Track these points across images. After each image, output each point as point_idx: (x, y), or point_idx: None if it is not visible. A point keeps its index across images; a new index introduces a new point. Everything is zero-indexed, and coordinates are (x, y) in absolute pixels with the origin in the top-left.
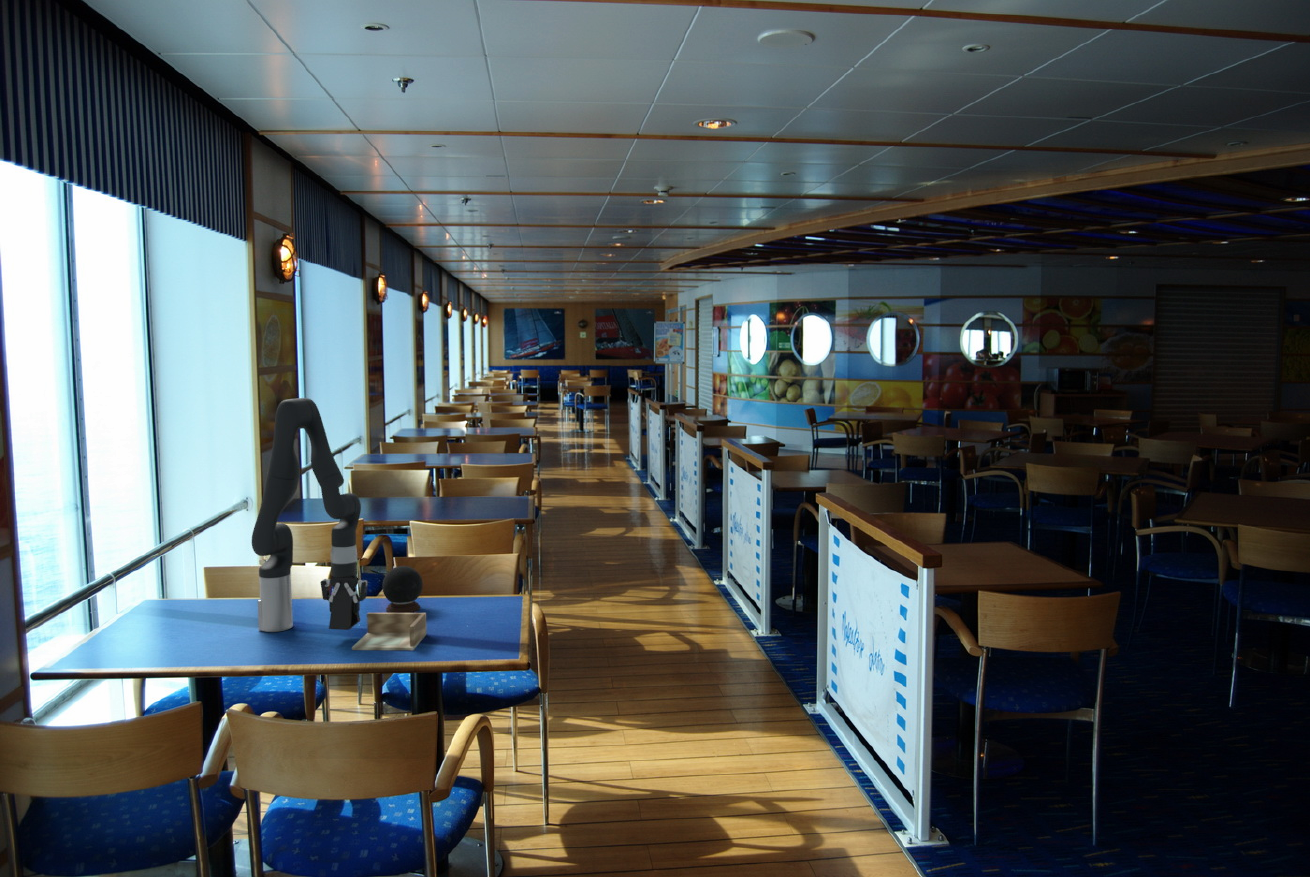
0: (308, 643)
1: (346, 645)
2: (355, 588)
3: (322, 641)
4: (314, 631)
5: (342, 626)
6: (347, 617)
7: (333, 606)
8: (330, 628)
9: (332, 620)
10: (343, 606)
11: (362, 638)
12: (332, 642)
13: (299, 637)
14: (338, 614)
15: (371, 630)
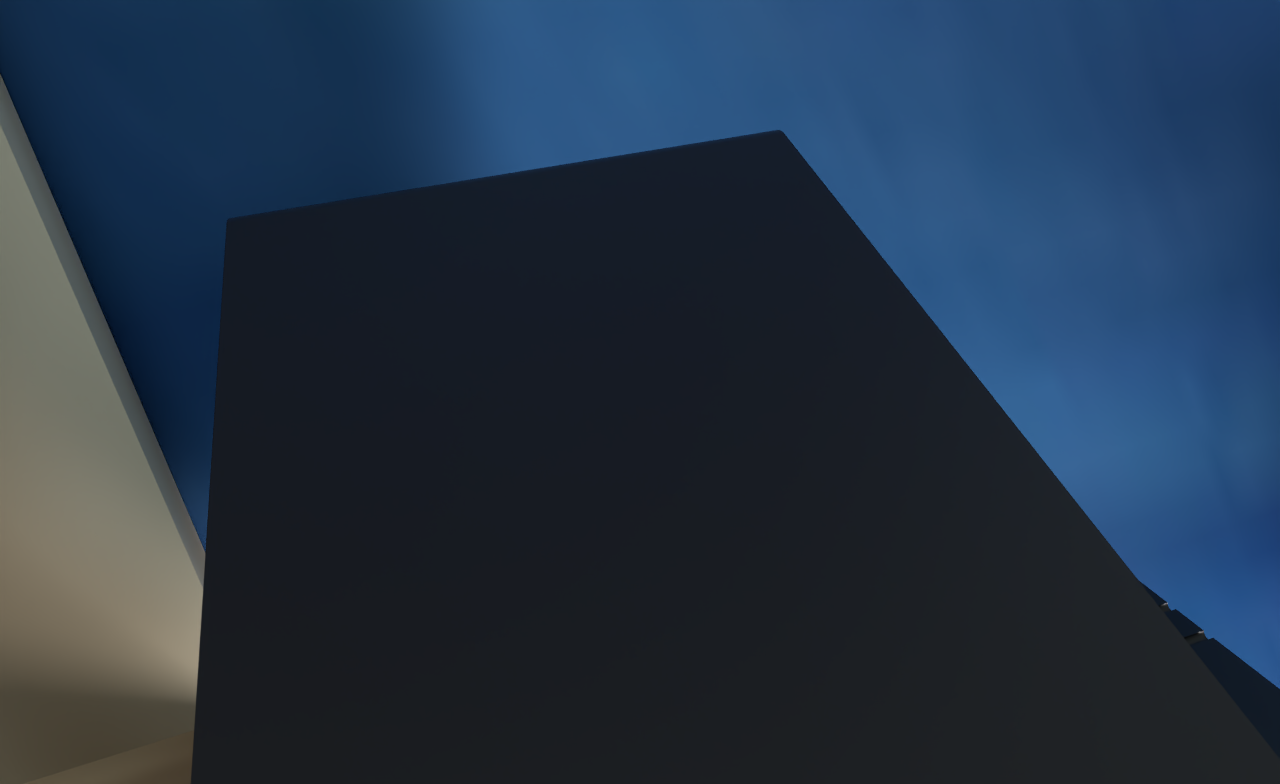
0: (1027, 23)
1: (261, 74)
2: None
3: (846, 184)
4: (1143, 550)
5: (417, 222)
6: (296, 428)
7: (1066, 599)
8: (740, 140)
9: (790, 252)
10: (605, 744)
11: (98, 416)
12: None
13: (1253, 268)
14: (683, 418)
15: (169, 765)
